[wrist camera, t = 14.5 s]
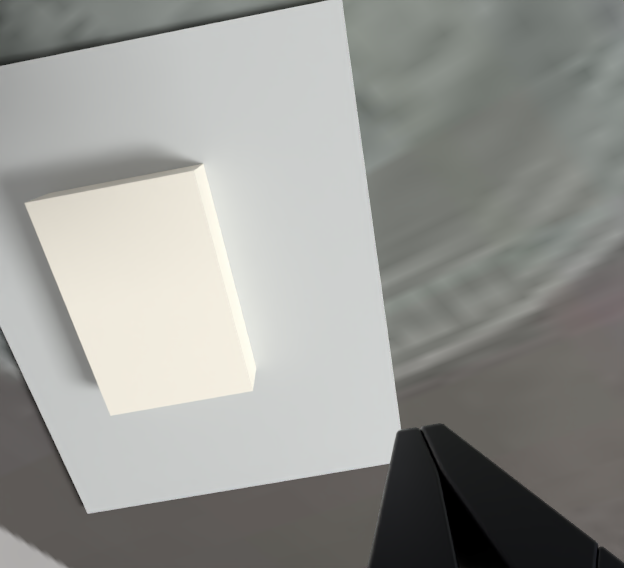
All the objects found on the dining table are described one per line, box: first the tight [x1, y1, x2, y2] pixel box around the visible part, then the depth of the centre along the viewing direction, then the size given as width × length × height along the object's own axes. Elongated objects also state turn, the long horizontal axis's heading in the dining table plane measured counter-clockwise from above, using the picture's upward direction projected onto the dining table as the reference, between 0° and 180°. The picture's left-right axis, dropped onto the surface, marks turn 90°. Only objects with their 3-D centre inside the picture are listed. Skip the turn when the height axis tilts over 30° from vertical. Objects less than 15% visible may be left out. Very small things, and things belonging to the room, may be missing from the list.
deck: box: [25, 164, 256, 416], centre depth 19 cm, size 9×2×6 cm
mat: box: [0, 0, 401, 514], centre depth 20 cm, size 20×16×1 cm
